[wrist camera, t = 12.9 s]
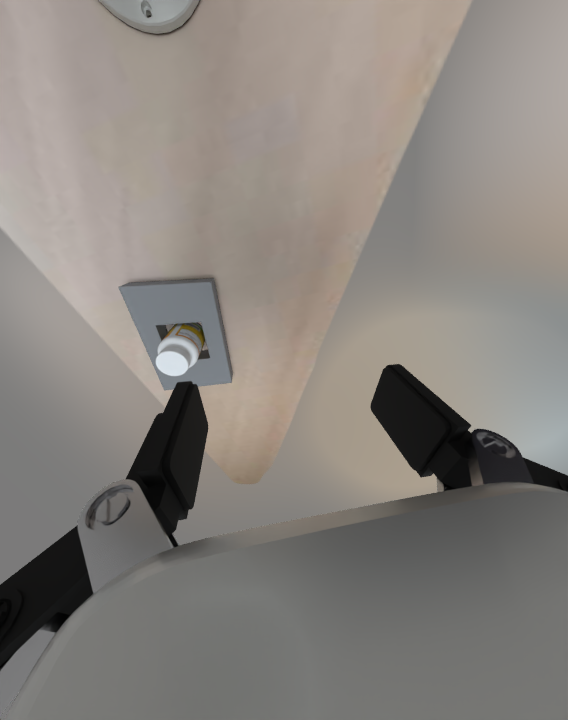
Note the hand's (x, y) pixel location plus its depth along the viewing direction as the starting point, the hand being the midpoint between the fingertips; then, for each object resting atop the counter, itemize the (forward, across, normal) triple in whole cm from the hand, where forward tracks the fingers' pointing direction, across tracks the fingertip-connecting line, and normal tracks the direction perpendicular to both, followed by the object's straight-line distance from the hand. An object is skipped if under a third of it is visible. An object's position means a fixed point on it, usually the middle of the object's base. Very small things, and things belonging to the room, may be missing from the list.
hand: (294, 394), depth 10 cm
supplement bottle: (+26, +13, +8) cm, 31 cm away
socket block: (+26, +13, +8) cm, 30 cm away
